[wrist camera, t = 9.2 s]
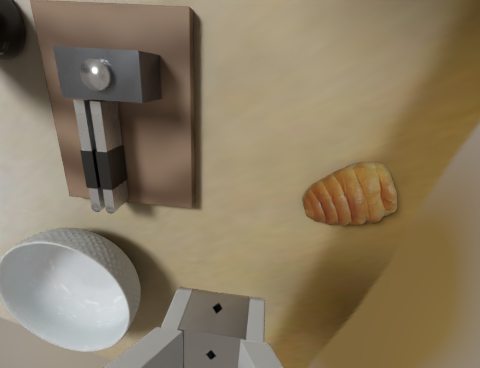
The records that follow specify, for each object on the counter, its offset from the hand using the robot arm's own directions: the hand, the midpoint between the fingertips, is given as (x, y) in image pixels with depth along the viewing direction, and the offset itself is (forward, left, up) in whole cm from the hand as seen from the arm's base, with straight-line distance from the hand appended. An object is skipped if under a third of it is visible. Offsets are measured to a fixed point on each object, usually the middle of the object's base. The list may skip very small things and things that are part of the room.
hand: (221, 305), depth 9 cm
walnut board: (-3, -14, -22) cm, 26 cm away
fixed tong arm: (+1, -16, -20) cm, 26 cm away
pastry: (+4, +11, -22) cm, 25 cm away
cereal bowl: (+18, -21, -22) cm, 35 cm away
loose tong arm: (+1, -15, -20) cm, 25 cm away
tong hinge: (-7, -13, -20) cm, 25 cm away
